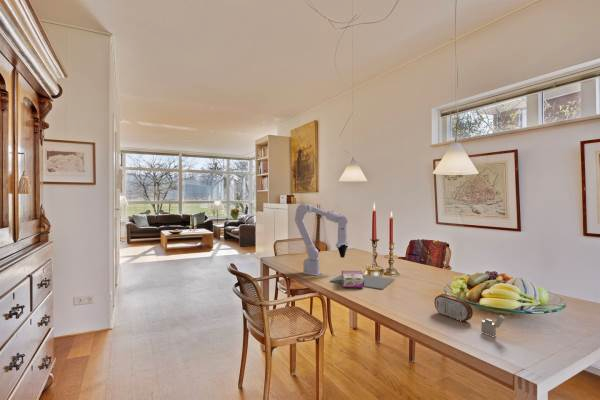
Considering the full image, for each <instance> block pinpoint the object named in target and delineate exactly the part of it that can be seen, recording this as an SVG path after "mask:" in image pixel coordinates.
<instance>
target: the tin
mask: <svg viewBox="0 0 600 400" xmlns="http://www.w3.org/2000/svg"><path fill="white" fill-rule="evenodd" d="M433 303H434V307H435V309H436V311H437V312H438V313H439V314H440V315H442V316H444V315H445V317H447V316H449V317H448V318H450V317H451V318H450V319H452V318H454V319H453V320H455V319H458V320H461V321H463V322H466V321H469V320H471V319H472V317H473V314H474V312H473V311H474V310H473V308H472V305H471V304H470V302H468V301H467V300H465V299H463V298H460V297H456V296H453V295H451V294H447V293H440V294H439V295H437V296H436V297H434V302H433ZM458 320H457V321H458ZM461 321H460V322H461Z"/></svg>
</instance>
